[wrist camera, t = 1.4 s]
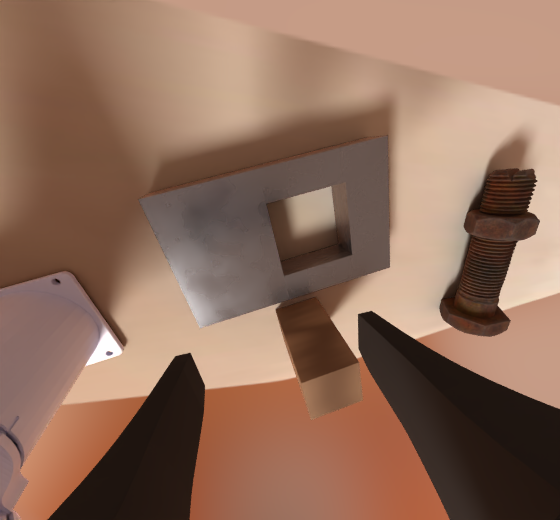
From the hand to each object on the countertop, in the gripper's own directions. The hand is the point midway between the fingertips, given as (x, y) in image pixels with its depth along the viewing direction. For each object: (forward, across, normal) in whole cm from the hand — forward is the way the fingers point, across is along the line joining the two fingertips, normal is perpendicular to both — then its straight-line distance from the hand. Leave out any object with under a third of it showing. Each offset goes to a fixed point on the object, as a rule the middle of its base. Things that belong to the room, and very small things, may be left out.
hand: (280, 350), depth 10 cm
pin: (+11, -2, +8) cm, 14 cm away
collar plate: (+11, -2, -2) cm, 11 cm away
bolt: (+12, -21, +5) cm, 25 cm away
